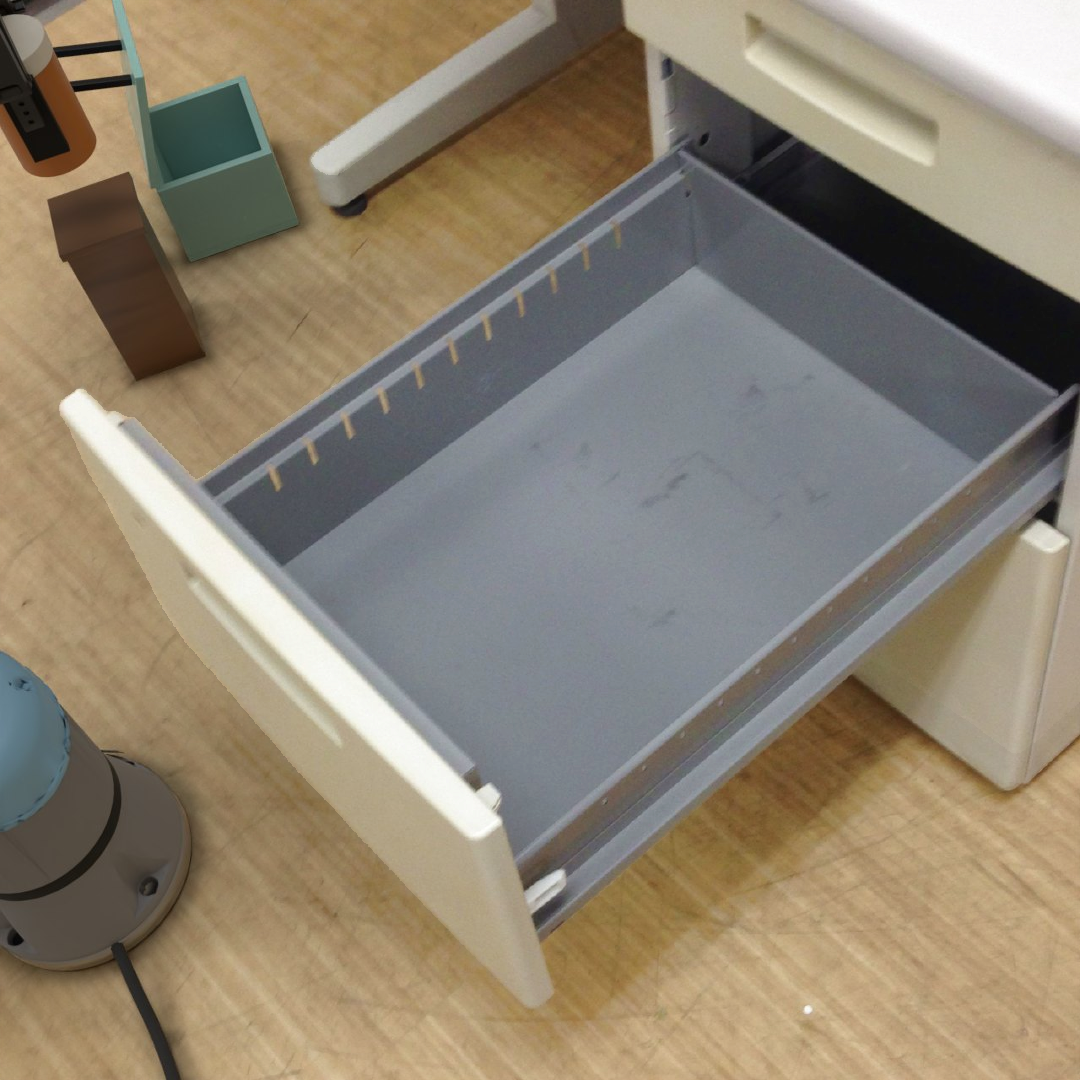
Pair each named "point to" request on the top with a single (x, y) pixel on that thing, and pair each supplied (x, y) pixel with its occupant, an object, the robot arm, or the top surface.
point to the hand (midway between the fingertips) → (45, 125)
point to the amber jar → (48, 100)
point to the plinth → (126, 275)
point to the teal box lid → (122, 84)
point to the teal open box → (218, 170)
